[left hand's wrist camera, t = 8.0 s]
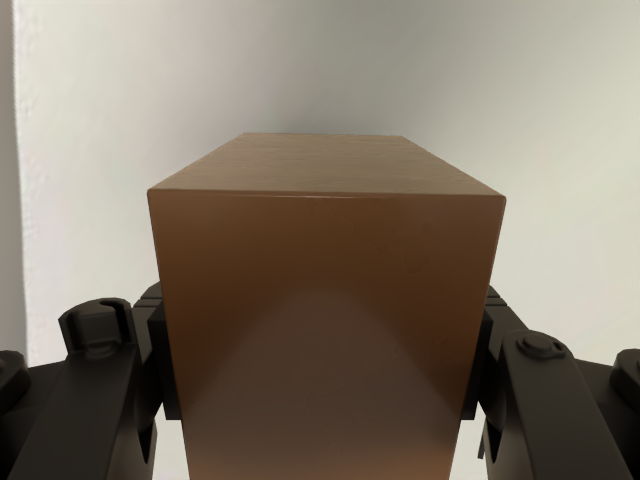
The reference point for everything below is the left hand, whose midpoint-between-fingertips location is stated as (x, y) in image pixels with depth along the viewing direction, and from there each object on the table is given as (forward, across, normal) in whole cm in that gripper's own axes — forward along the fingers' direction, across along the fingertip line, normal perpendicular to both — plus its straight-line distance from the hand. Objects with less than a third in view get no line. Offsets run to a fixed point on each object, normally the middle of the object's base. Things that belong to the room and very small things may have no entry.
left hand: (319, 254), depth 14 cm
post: (+1, -1, -37) cm, 37 cm away
